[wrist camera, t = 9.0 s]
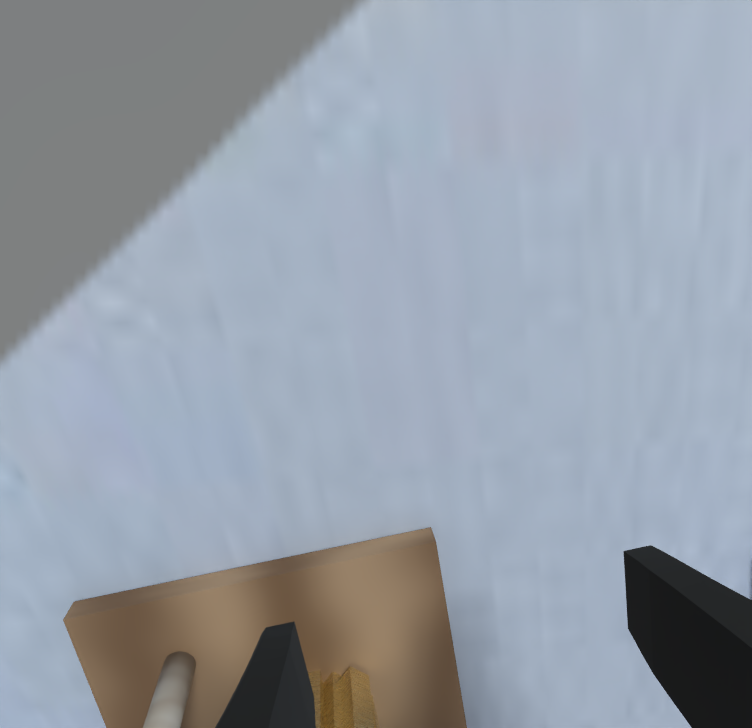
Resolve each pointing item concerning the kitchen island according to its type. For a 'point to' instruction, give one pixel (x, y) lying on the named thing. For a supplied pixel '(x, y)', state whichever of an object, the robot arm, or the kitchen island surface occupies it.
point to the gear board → (269, 608)
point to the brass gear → (343, 700)
